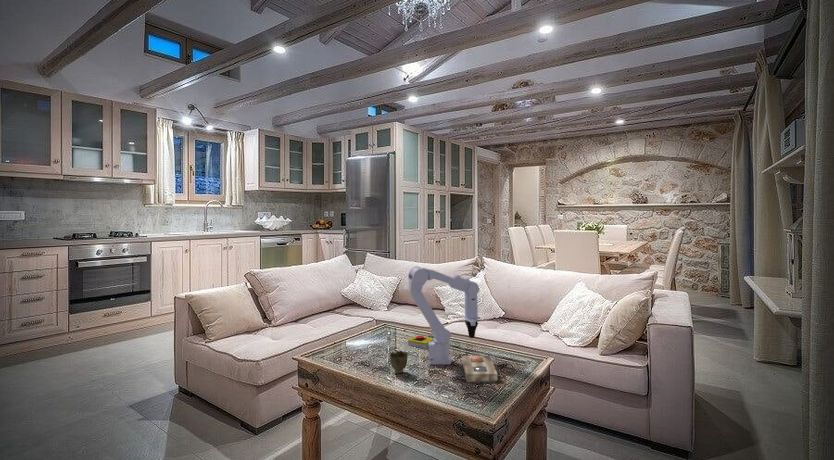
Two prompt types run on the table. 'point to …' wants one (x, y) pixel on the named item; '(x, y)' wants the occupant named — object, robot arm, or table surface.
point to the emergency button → (420, 342)
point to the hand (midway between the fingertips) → (471, 337)
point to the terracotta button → (476, 359)
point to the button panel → (479, 376)
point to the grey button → (480, 369)
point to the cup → (398, 361)
